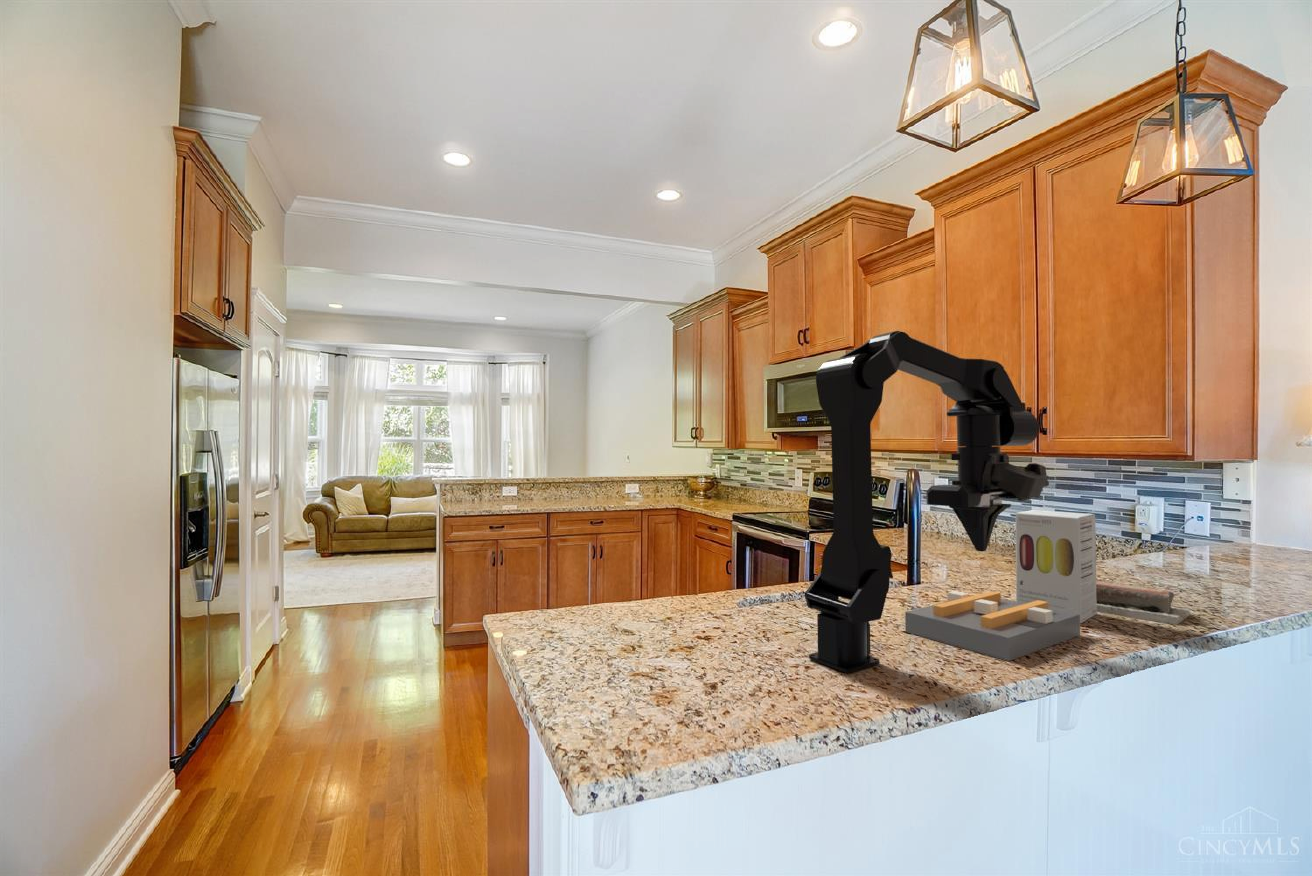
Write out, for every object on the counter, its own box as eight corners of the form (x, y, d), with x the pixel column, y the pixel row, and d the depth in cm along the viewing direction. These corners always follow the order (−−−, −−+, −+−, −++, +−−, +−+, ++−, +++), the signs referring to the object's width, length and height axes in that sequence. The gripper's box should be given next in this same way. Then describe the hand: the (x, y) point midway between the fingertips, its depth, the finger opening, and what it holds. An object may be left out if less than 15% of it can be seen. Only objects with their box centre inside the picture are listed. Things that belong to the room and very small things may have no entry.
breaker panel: (1008, 661, 77) (1008, 625, 77) (905, 631, 89) (905, 601, 89) (1080, 635, 87) (1079, 603, 88) (978, 612, 100) (978, 584, 100)
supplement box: (1014, 612, 100) (1012, 512, 100) (1033, 603, 106) (1031, 508, 106) (1082, 625, 92) (1079, 516, 93) (1099, 614, 98) (1096, 512, 99)
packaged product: (1045, 578, 106) (1064, 571, 112) (1045, 605, 106) (1065, 597, 112) (1177, 596, 92) (1190, 587, 98) (1178, 628, 92) (1191, 617, 98)
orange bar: (990, 629, 81) (990, 618, 81) (980, 626, 82) (980, 616, 82) (1048, 611, 89) (1048, 602, 89) (1038, 609, 90) (1038, 600, 90)
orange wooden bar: (942, 617, 86) (942, 607, 87) (933, 614, 88) (933, 605, 88) (1000, 601, 95) (1000, 593, 95) (991, 600, 96) (991, 591, 96)
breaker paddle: (990, 615, 86) (990, 604, 86) (974, 611, 88) (973, 601, 88) (997, 613, 87) (997, 602, 87) (981, 609, 89) (981, 599, 89)
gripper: (1002, 446, 77) (1005, 567, 77) (1067, 445, 87) (1070, 551, 87) (923, 447, 86) (925, 555, 86) (990, 446, 97) (992, 542, 96)
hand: (981, 551), depth 89 cm, fingers closed
